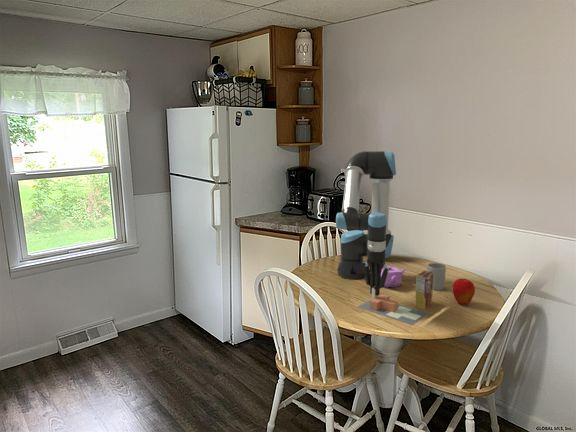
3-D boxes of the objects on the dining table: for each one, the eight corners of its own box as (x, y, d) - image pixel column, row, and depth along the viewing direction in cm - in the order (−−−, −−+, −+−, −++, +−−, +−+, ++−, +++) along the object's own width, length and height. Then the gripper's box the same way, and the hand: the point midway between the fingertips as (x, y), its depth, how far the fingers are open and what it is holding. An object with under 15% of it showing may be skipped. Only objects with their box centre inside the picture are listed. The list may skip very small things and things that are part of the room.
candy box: (423, 302, 200) (424, 269, 196) (432, 304, 197) (434, 271, 194) (414, 308, 193) (416, 275, 190) (423, 311, 190) (425, 277, 187)
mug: (447, 290, 214) (448, 268, 211) (429, 290, 213) (431, 268, 211) (438, 281, 225) (439, 260, 223) (421, 281, 225) (422, 261, 223)
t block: (369, 308, 191) (369, 300, 191) (382, 301, 198) (382, 294, 198) (389, 314, 185) (389, 306, 184) (401, 307, 192) (401, 299, 191)
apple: (478, 305, 195) (480, 279, 193) (461, 308, 192) (463, 282, 190) (463, 298, 204) (465, 273, 201) (447, 300, 201) (448, 275, 199)
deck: (357, 309, 193) (357, 307, 193) (375, 299, 204) (375, 297, 203) (412, 327, 175) (412, 325, 175) (429, 315, 186) (429, 313, 186)
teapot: (375, 292, 212) (376, 272, 210) (367, 282, 225) (368, 264, 223) (412, 290, 214) (413, 270, 212) (402, 280, 227) (402, 262, 225)
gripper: (358, 248, 192) (357, 300, 197) (384, 254, 183) (382, 308, 188) (368, 245, 197) (366, 295, 202) (394, 250, 188) (392, 303, 193)
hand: (374, 301), depth 195 cm, fingers closed
